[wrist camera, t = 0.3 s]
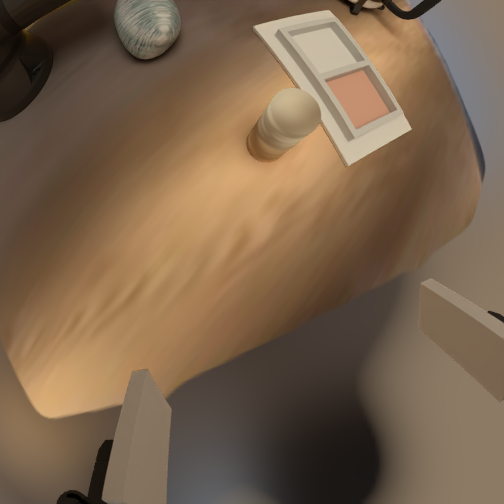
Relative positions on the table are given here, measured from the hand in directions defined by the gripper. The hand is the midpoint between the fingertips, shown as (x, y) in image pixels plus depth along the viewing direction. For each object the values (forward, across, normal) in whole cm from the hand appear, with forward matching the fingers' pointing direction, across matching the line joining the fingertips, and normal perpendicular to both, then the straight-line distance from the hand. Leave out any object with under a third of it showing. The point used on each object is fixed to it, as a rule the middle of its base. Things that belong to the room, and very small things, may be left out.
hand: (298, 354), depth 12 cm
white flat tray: (+32, +21, +19) cm, 43 cm away
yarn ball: (+32, -5, +32) cm, 45 cm away
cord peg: (+28, +6, +10) cm, 31 cm away
